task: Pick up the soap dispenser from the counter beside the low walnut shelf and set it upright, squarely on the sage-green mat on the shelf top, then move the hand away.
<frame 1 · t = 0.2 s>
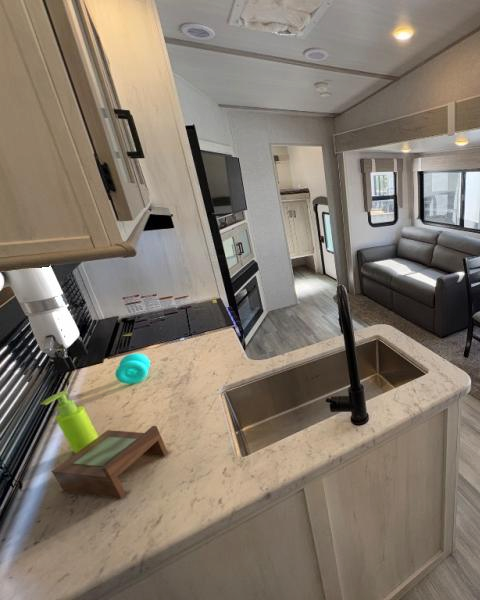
hand: (74, 363, 82), 30 cm above the worktop, tool pointing down, fingers open, 9 cm apart
shelf: (119, 471, 85), on the worktop
soap dispenser: (86, 449, 94), on the worktop
donuts: (137, 378, 129), on the worktop
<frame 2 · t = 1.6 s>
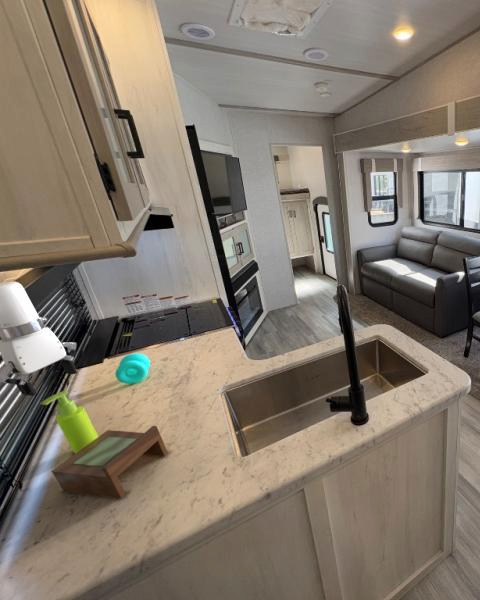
hand: (52, 383, 86), 24 cm above the worktop, tool pointing down, fingers open, 9 cm apart
nothing on the worktop moved.
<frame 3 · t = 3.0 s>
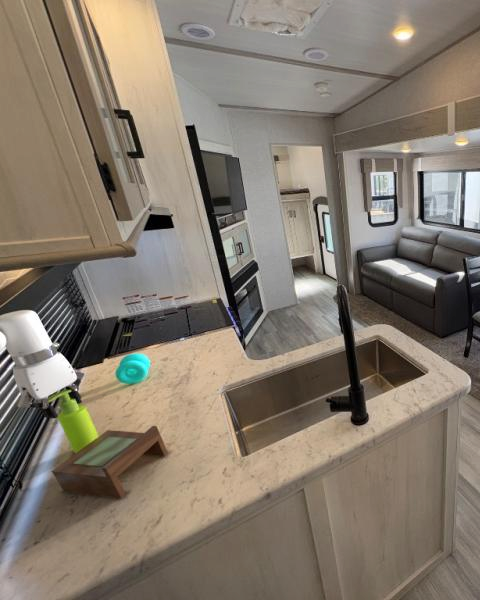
hand: (64, 409, 89), 15 cm above the worktop, tool pointing down, fingers closed on soap dispenser, 5 cm apart
soap dispenser: (86, 448, 94), on the worktop, touching gripper
everything else where it was.
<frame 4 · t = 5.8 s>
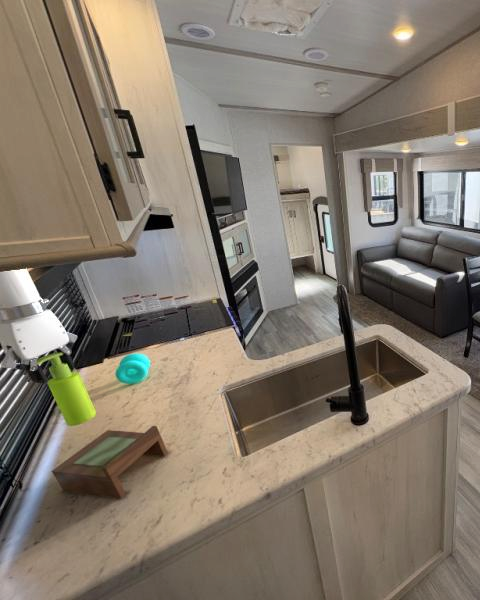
hand: (55, 374, 79), 29 cm above the worktop, tool pointing down, fingers closed on soap dispenser, 5 cm apart
soap dispenser: (80, 420, 85), point 14 cm above the worktop, touching gripper
everything else where it was.
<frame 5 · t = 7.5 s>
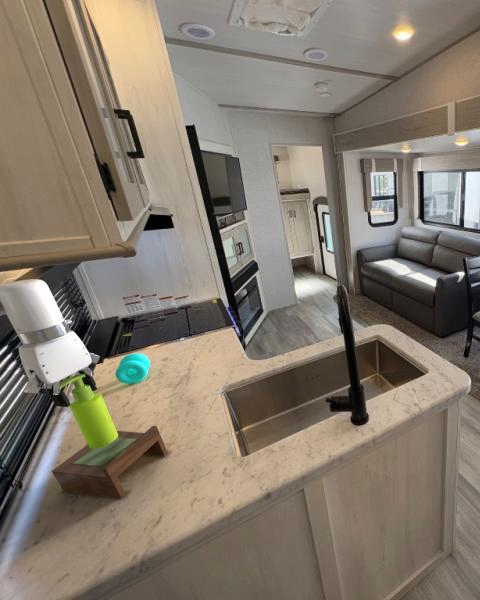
hand: (78, 397, 77), 25 cm above the worktop, tool pointing down, fingers closed on soap dispenser, 5 cm apart
soap dispenser: (102, 442, 82), point 10 cm above the worktop, touching gripper
everything else where it was.
when the fingers open (22 cm above the worktop, at t = 8.7 s): soap dispenser stays where it is, resting on shelf.
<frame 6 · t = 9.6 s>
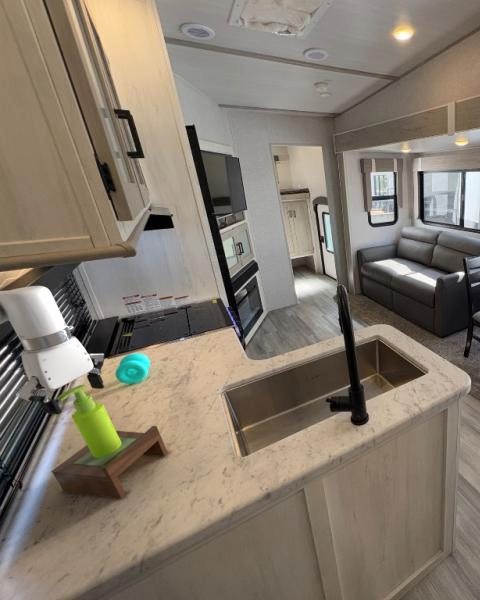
hand: (78, 399, 77), 24 cm above the worktop, tool pointing down, fingers open, 9 cm apart
soap dispenser: (105, 451, 83), point 7 cm above the worktop, touching shelf
everything else where it was.
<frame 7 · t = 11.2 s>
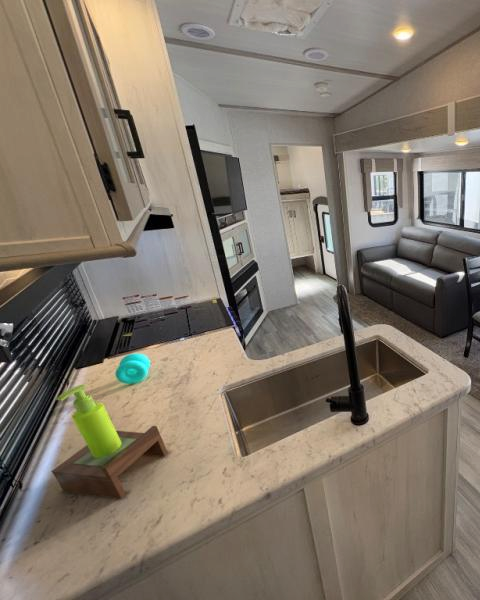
nothing on the worktop moved.
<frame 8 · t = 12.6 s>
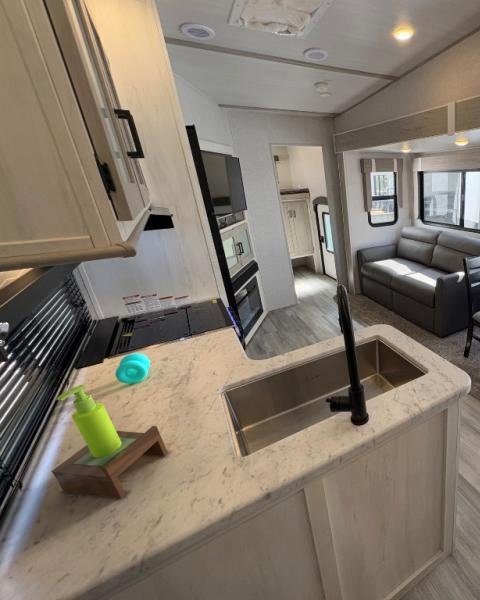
nothing on the worktop moved.
at the end: soap dispenser inside the target area on the shelf (0.0 cm from its centre), point 7.2 cm above the shelf's base; soap dispenser tilted 0°; the gripper is holding nothing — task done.
